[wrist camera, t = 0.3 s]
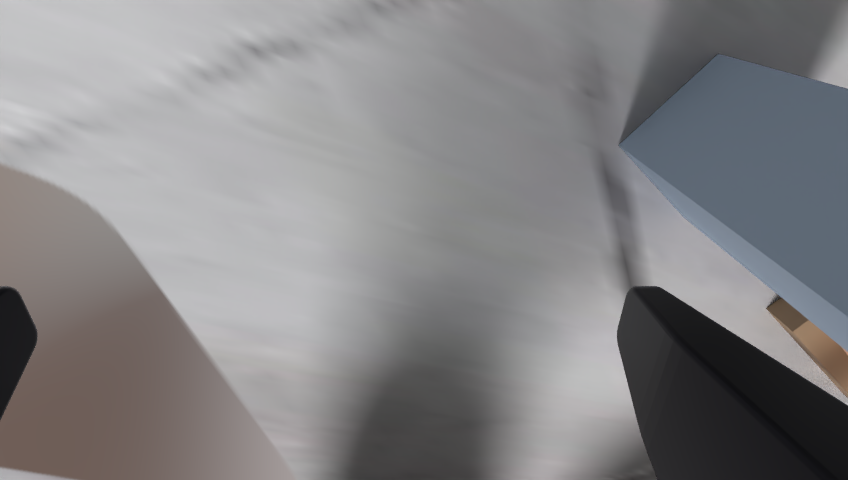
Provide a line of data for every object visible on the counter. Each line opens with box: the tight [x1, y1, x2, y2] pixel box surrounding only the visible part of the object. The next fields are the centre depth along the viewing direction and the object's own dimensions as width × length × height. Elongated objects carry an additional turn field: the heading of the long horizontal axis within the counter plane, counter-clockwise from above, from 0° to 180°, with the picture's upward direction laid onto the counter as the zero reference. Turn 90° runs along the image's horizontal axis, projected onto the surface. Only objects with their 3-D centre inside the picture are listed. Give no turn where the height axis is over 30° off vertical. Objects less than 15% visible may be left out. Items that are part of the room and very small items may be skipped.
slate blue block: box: [619, 54, 848, 352], centre depth 17 cm, size 5×5×13 cm
